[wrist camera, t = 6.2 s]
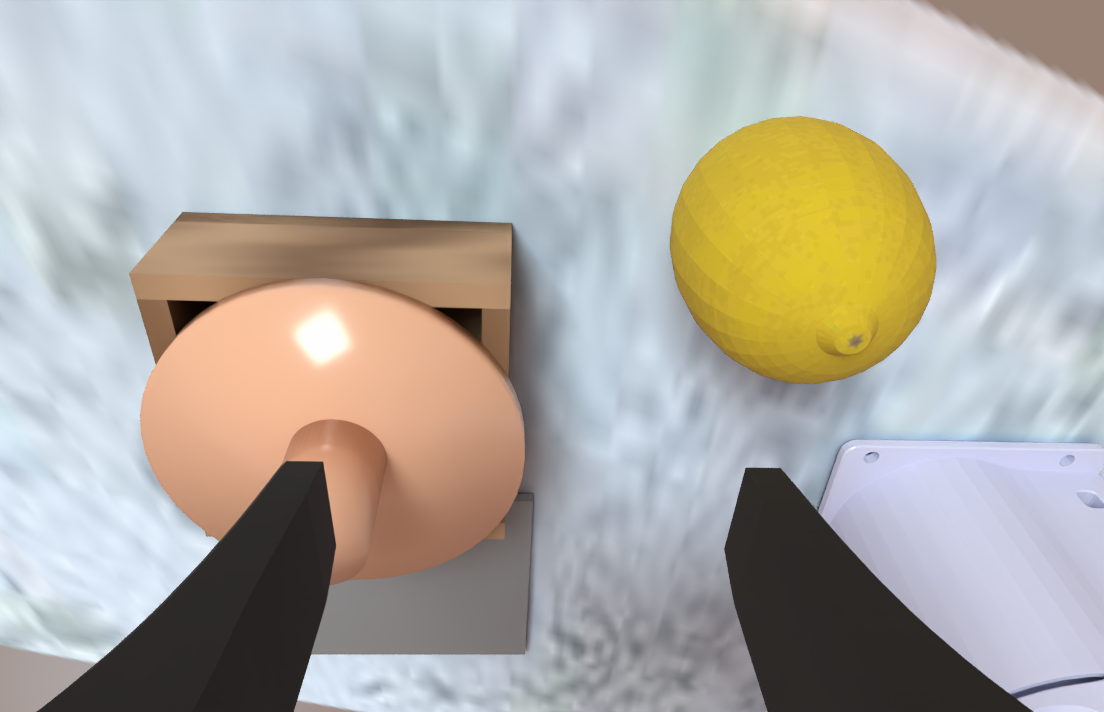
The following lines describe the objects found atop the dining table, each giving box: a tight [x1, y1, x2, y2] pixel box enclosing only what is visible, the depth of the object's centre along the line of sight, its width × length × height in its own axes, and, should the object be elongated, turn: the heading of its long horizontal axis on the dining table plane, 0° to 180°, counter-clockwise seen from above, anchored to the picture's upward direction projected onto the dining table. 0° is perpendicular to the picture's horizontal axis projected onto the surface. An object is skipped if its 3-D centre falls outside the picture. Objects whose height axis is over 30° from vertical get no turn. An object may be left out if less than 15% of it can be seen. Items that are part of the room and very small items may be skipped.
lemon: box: [670, 116, 936, 384], centre depth 18 cm, size 6×6×8 cm
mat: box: [311, 493, 533, 654], centre depth 30 cm, size 9×9×1 cm
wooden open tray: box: [129, 212, 512, 539], centre depth 22 cm, size 9×9×4 cm
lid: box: [140, 278, 525, 585], centre depth 20 cm, size 10×10×4 cm
